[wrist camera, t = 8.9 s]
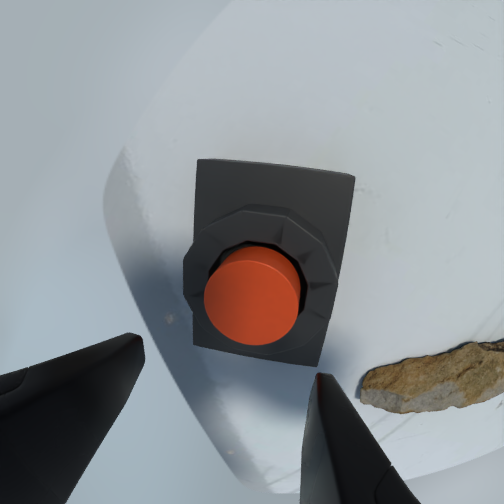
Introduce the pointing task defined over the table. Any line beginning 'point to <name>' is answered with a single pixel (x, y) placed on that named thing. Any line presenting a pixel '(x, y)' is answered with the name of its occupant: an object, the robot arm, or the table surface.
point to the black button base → (270, 244)
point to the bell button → (253, 296)
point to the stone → (437, 380)
